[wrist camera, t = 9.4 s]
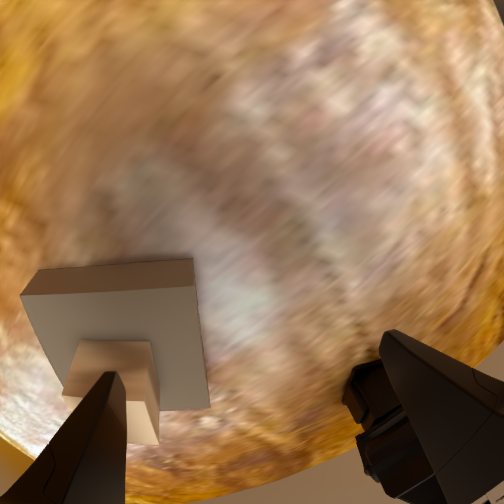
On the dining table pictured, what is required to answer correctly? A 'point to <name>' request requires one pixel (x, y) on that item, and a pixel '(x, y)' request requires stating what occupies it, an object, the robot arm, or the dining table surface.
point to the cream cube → (132, 375)
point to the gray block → (125, 320)
